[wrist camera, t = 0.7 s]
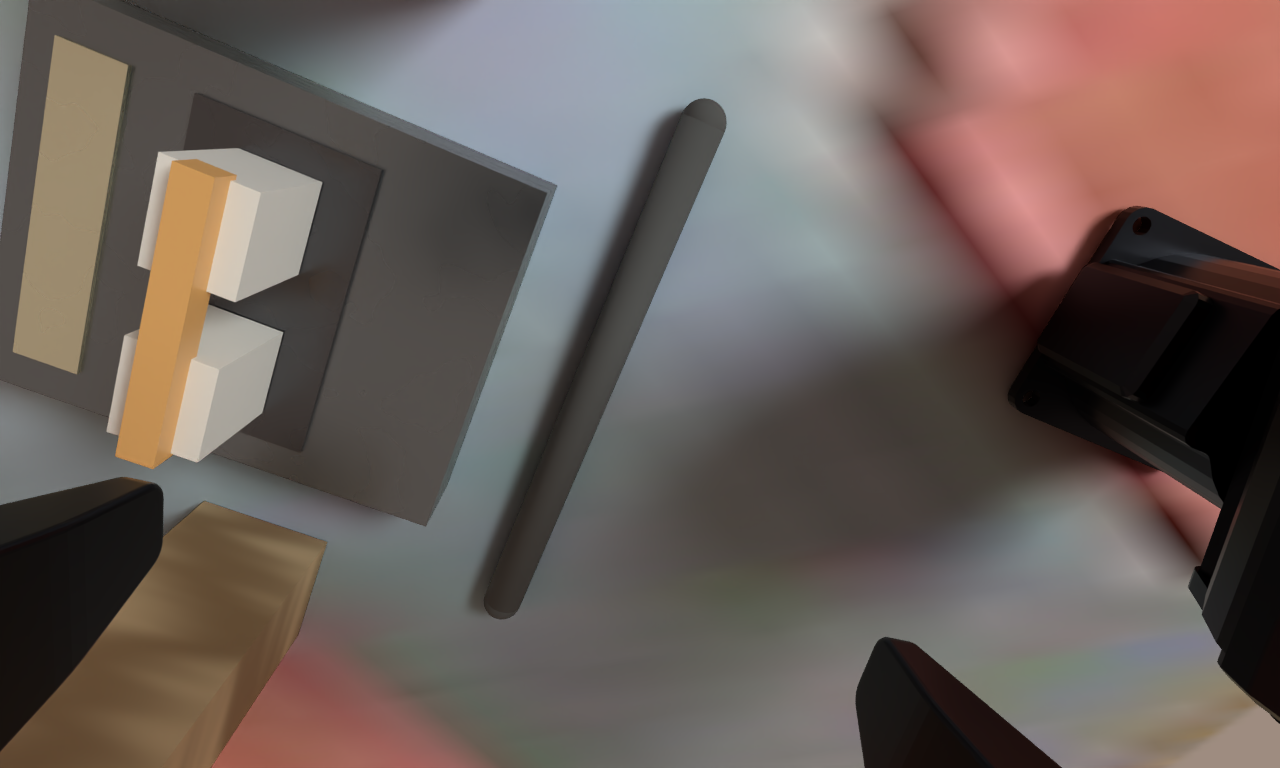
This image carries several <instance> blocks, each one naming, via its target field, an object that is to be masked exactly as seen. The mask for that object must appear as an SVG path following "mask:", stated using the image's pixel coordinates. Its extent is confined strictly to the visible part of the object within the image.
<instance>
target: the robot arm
mask: <svg viewBox="0 0 1280 768" xmlns="http://www.w3.org/2000/svg"><path fill="white" fill-rule="evenodd" d="M1138 218H1141V222H1142V224H1141V226H1140V228H1139V229H1138V230H1137V231H1136V232H1133V228H1132V227H1133V224H1134V222H1135V221H1136V220H1137V219H1138ZM1037 343H1038V345H1037V346H1036V348H1035V350H1034V351H1033V353H1032V354H1031V356H1030V358H1029V359H1028V361H1027V362H1026V364H1025V366H1024V367H1023V369H1022V370H1021V372H1020V373H1019V375H1018V377H1017V378H1016V380H1015V381H1014V383H1013V385H1012V386H1011V388H1010V390H1009V393H1008V400H1009V402H1010V404H1011V405H1012V406H1013V407H1015V408H1016V409H1017V410H1019V411H1020V412H1022V413H1023V414H1026V415H1028V416H1031V417H1033V418H1035V419H1038V420H1040V421H1043V422H1045V423H1047V424H1050V425H1052V426H1055V427H1057V428H1059V429H1062V430H1064V431H1066V432H1069V433H1071V434H1074V435H1076V436H1078V437H1081V438H1083V439H1086V440H1088V441H1090V442H1093V443H1095V444H1098V445H1100V446H1102V447H1105V448H1107V449H1110V450H1112V451H1114V452H1117V453H1119V454H1121V455H1124V456H1126V457H1129V458H1131V459H1133V460H1136V461H1138V462H1141V463H1143V464H1145V465H1148V466H1150V467H1153V468H1155V469H1157V470H1160V471H1162V472H1164V473H1166V474H1167V475H1169V476H1171V477H1172V478H1174V479H1175V480H1177V481H1178V482H1180V483H1181V484H1183V485H1185V486H1186V487H1188V488H1189V489H1191V490H1192V491H1194V492H1195V493H1197V494H1199V495H1200V496H1202V497H1203V498H1205V499H1206V500H1208V501H1209V502H1211V503H1213V504H1214V505H1216V506H1217V507H1219V508H1220V509H1221V511H1220V514H1219V517H1218V520H1217V522H1216V525H1215V528H1214V531H1213V534H1212V536H1211V539H1210V542H1209V545H1208V548H1207V550H1206V553H1205V556H1204V559H1203V562H1202V564H1201V566H1196V567H1195V568H1194V571H1193V574H1192V577H1191V579H1190V582H1189V585H1188V588H1189V590H1190V591H1191V593H1192V594H1193V596H1194V598H1195V599H1196V601H1197V602H1198V604H1199V606H1200V607H1201V609H1202V610H1203V611H1202V616H1203V618H1204V620H1205V622H1206V624H1207V626H1208V628H1209V629H1210V631H1211V633H1212V635H1213V637H1214V639H1215V641H1216V643H1217V644H1218V645H1219V646H1220V648H1221V649H1222V650H1221V653H1220V655H1219V658H1218V661H1217V662H1218V664H1219V666H1220V667H1221V669H1222V670H1223V671H1224V672H1225V673H1226V675H1227V676H1228V677H1229V678H1230V679H1231V680H1232V681H1233V682H1234V683H1235V684H1236V685H1237V686H1238V687H1239V688H1240V689H1241V690H1242V691H1243V692H1244V693H1246V694H1247V695H1248V696H1249V697H1250V698H1251V699H1252V700H1253V701H1254V702H1255V703H1256V704H1257V705H1259V706H1260V707H1261V708H1263V709H1264V710H1265V711H1267V712H1268V713H1269V714H1270V715H1271V716H1272V717H1273V718H1274V719H1275V720H1276V721H1277V722H1278V723H1279V724H1280V270H1279V269H1277V268H1275V267H1273V266H1271V265H1269V264H1267V263H1265V262H1263V261H1261V260H1259V259H1256V258H1254V257H1252V256H1250V255H1248V254H1246V253H1244V252H1242V251H1240V250H1238V249H1236V248H1234V247H1231V246H1229V245H1227V244H1225V243H1223V242H1221V241H1219V240H1217V239H1215V238H1213V237H1211V236H1209V235H1206V234H1204V233H1202V232H1200V231H1198V230H1196V229H1194V228H1192V227H1190V226H1188V225H1186V224H1184V223H1182V222H1179V221H1177V220H1175V219H1173V218H1171V217H1169V216H1167V215H1165V214H1163V213H1161V212H1159V211H1157V210H1154V209H1152V208H1147V207H1141V206H1133V207H1129V208H1127V209H1126V210H1124V211H1123V212H1122V213H1121V214H1120V215H1119V216H1118V217H1117V219H1116V220H1115V222H1114V224H1113V225H1112V227H1111V228H1110V230H1109V232H1108V233H1107V235H1106V236H1105V238H1104V240H1103V241H1102V243H1101V244H1100V246H1099V248H1098V249H1097V251H1096V252H1095V254H1094V256H1093V257H1092V259H1091V260H1090V262H1089V263H1088V265H1087V266H1085V267H1083V269H1082V270H1081V272H1080V273H1079V275H1078V277H1077V278H1076V280H1075V281H1074V283H1073V285H1072V286H1071V288H1070V289H1069V291H1068V293H1067V294H1066V296H1065V297H1064V299H1063V301H1062V302H1061V304H1060V305H1059V307H1058V309H1057V310H1056V312H1055V313H1054V315H1053V317H1052V318H1051V320H1050V321H1049V323H1048V324H1047V326H1046V328H1045V329H1044V331H1043V332H1042V334H1041V336H1040V337H1039V339H1038V341H1037ZM1029 391H1033V394H1032V397H1031V398H1030V399H1029V400H1028V401H1025V402H1023V397H1024V395H1025V394H1026V393H1027V392H1029ZM163 501H164V498H163V492H162V489H161V488H160V487H159V486H158V485H157V484H155V483H152V482H147V481H142V480H137V479H133V478H128V477H120V478H115V479H110V480H106V481H102V482H98V483H93V484H89V485H85V486H80V487H76V488H72V489H67V490H63V491H59V492H55V493H50V494H46V495H42V496H37V497H33V498H29V499H24V500H20V501H16V502H12V503H7V504H3V505H0V752H1V751H2V750H3V748H4V747H5V746H6V745H7V744H8V743H9V742H10V741H11V740H12V739H13V738H14V736H15V735H16V734H17V733H18V732H19V731H20V730H21V729H22V728H23V727H24V725H25V724H26V723H27V722H28V721H29V720H30V719H31V718H32V717H33V716H34V715H35V713H36V712H37V711H38V710H39V709H40V708H41V707H42V706H43V705H44V704H45V703H46V701H47V700H48V699H49V698H50V697H51V696H52V695H53V694H54V693H55V692H56V690H57V689H58V688H59V687H60V686H61V685H62V684H63V683H64V681H65V680H66V679H67V678H68V677H69V676H70V675H71V673H72V672H73V671H74V670H75V669H76V667H77V666H78V665H79V664H80V662H81V661H82V660H83V659H84V657H85V656H86V655H87V654H88V652H89V651H90V650H91V648H92V647H93V646H94V644H95V643H96V642H97V640H98V639H99V638H100V636H101V635H102V634H103V632H104V631H105V630H106V628H107V627H108V626H109V624H110V623H111V622H112V620H113V619H114V618H115V616H116V615H117V614H118V612H119V611H120V610H121V608H122V607H123V606H124V604H125V603H126V602H127V600H128V599H129V598H130V596H131V595H132V594H133V592H134V591H135V590H136V588H137V587H138V586H139V584H140V583H141V582H142V580H143V579H144V578H145V576H146V575H147V574H148V572H149V571H150V570H151V568H152V567H153V566H154V564H155V562H156V561H157V559H158V557H159V555H160V552H161V549H162V544H163ZM856 711H857V718H858V725H859V732H860V739H861V746H862V752H863V759H864V766H865V768H1062V767H1060V766H1059V765H1058V764H1057V763H1056V762H1054V761H1053V760H1052V759H1051V758H1050V757H1049V756H1047V755H1046V754H1045V753H1044V752H1043V751H1041V750H1040V749H1039V748H1038V747H1037V746H1036V745H1034V744H1033V743H1032V742H1031V741H1030V740H1028V739H1027V738H1026V737H1025V736H1024V735H1023V734H1021V733H1020V732H1019V731H1018V730H1017V729H1015V728H1014V727H1013V726H1012V725H1011V724H1009V723H1008V722H1007V721H1006V720H1005V719H1004V718H1002V717H1001V716H1000V715H999V714H998V713H996V712H995V711H994V710H993V709H992V708H991V707H989V706H988V705H987V704H986V703H985V702H983V701H982V700H981V699H980V698H979V697H978V696H976V695H975V694H974V693H973V692H972V691H970V690H969V689H968V688H967V687H966V686H964V685H963V684H962V683H961V682H960V681H959V680H957V679H956V678H955V677H954V676H953V675H951V674H950V673H949V672H948V671H947V670H946V669H944V668H943V667H942V666H941V665H940V664H938V663H937V662H936V661H935V660H934V659H933V658H931V657H930V656H929V655H928V654H927V653H925V652H924V651H923V650H922V649H921V648H919V647H918V646H917V645H916V644H914V643H912V642H909V641H904V640H899V639H894V638H889V637H884V638H881V639H879V641H878V642H877V643H876V645H875V646H874V649H873V651H872V653H871V656H870V658H869V660H868V663H867V665H866V667H865V670H864V672H863V674H862V677H861V679H860V681H859V684H858V687H857V691H856Z"/></svg>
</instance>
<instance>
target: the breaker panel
mask: <svg viewBox="0 0 1280 768" xmlns="http://www.w3.org/2000/svg"><path fill="white" fill-rule="evenodd" d="M230 148H239V149H242V150H244V151H247V152H249V153H252V154H254V155H257V156H259V157H262V158H264V159H266V160H269V161H271V162H274V163H276V164H279V165H281V166H284V167H286V168H289V169H291V170H294V171H296V172H298V173H301V174H303V175H306V176H308V177H311V178H313V179H316V180H318V181H321V182H322V186H321V190H320V194H319V198H318V201H317V205H316V209H315V213H314V217H313V221H312V224H311V228H310V232H309V236H308V240H307V244H306V247H305V251H304V255H303V259H302V263H301V267H300V270H299V274H298V275H297V276H294V277H292V278H290V279H287V280H285V281H283V282H281V283H278V284H276V285H274V286H271V287H269V288H267V289H265V290H262V291H260V292H258V293H255V294H253V295H251V296H249V297H246V298H244V299H242V300H239V301H237V302H233V301H230V300H228V299H225V298H222V297H220V296H217V295H214V294H212V293H211V294H210V299H209V303H208V304H209V305H211V306H214V307H217V308H220V309H222V310H225V311H228V312H230V313H233V314H236V315H238V316H241V317H244V318H246V319H249V320H252V321H254V322H257V323H260V324H262V325H265V326H268V327H270V328H273V329H276V330H279V331H281V332H283V335H282V339H281V343H280V347H279V351H278V354H277V358H276V362H275V366H274V370H273V374H272V377H271V381H270V385H269V389H268V393H267V397H266V400H265V404H264V408H263V412H262V414H260V415H259V416H258V417H256V418H255V419H254V420H252V421H251V422H250V423H249V424H247V425H246V426H245V427H243V428H242V429H241V430H239V431H238V432H237V433H236V434H234V435H233V436H232V437H230V438H229V439H228V440H226V441H225V442H224V443H222V444H221V445H220V446H219V447H217V448H216V449H215V450H213V451H212V452H211V453H214V454H217V455H220V456H223V457H226V458H228V459H231V460H234V461H237V462H240V463H243V464H246V465H249V466H252V467H255V468H257V469H260V470H263V471H266V472H269V473H272V474H275V475H278V476H281V477H284V478H287V479H289V480H292V481H295V482H298V483H301V484H304V485H307V486H310V487H313V488H316V489H318V490H321V491H324V492H327V493H330V494H333V495H336V496H339V497H342V498H345V499H348V500H350V501H353V502H356V503H359V504H362V505H365V506H368V507H371V508H374V509H377V510H379V511H382V512H385V513H388V514H391V515H394V516H397V517H400V518H403V519H406V520H409V521H411V522H414V523H417V524H420V525H423V526H426V525H427V523H428V522H429V520H430V518H431V516H432V514H433V512H434V510H435V508H436V506H437V504H438V502H439V500H440V498H441V496H442V494H443V493H444V491H445V489H446V487H447V485H448V482H449V479H450V476H451V474H452V471H453V468H454V465H455V463H456V460H457V457H458V455H459V452H460V449H461V446H462V444H463V441H464V438H465V435H466V433H467V430H468V427H469V425H470V422H471V419H472V416H473V414H474V411H475V408H476V406H477V403H478V400H479V397H480V395H481V392H482V389H483V386H484V384H485V381H486V378H487V376H488V373H489V370H490V367H491V365H492V362H493V359H494V357H495V354H496V351H497V348H498V346H499V343H500V340H501V337H502V335H503V332H504V329H505V327H506V324H507V321H508V318H509V316H510V313H511V310H512V307H513V305H514V302H515V299H516V297H517V294H518V291H519V288H520V286H521V283H522V280H523V278H524V275H525V272H526V269H527V267H528V264H529V261H530V258H531V256H532V253H533V250H534V248H535V245H536V242H537V239H538V237H539V234H540V231H541V228H542V226H543V223H544V220H545V218H546V215H547V212H548V209H549V207H550V204H551V201H552V199H553V196H554V193H555V190H556V188H557V185H555V184H553V183H550V182H548V181H546V180H543V179H541V178H538V177H536V176H534V175H531V174H529V173H527V172H524V171H522V170H520V169H517V168H515V167H513V166H510V165H508V164H506V163H503V162H501V161H499V160H496V159H494V158H491V157H489V156H487V155H484V154H482V153H480V152H477V151H475V150H473V149H470V148H468V147H466V146H463V145H461V144H459V143H456V142H454V141H451V140H449V139H447V138H444V137H442V136H440V135H437V134H435V133H433V132H430V131H428V130H426V129H423V128H421V127H419V126H416V125H414V124H411V123H409V122H407V121H404V120H402V119H400V118H397V117H395V116H393V115H390V114H388V113H386V112H383V111H381V110H379V109H376V108H374V107H372V106H369V105H367V104H364V103H362V102H360V101H357V100H355V99H353V98H350V97H348V96H346V95H343V94H341V93H339V92H336V91H334V90H332V89H329V88H327V87H324V86H322V85H320V84H317V83H315V82H313V81H310V80H308V79H306V78H303V77H301V76H299V75H296V74H294V73H292V72H289V71H287V70H284V69H282V68H280V67H277V66H275V65H273V64H270V63H268V62H266V61H263V60H261V59H259V58H256V57H254V56H252V55H249V54H247V53H245V52H242V51H240V50H237V49H235V48H233V47H230V46H228V45H226V44H223V43H221V42H219V41H216V40H214V39H212V38H209V37H207V36H205V35H202V34H200V33H197V32H195V31H193V30H190V29H188V28H186V27H183V26H181V25H179V24H176V23H174V22H172V21H169V20H167V19H165V18H162V17H160V16H157V15H155V14H153V13H150V12H148V11H146V10H143V9H141V8H139V7H136V6H134V5H132V4H129V3H127V2H125V1H122V0H29V7H28V15H27V23H26V32H25V40H24V48H23V56H22V65H21V73H20V81H19V90H18V98H17V106H16V115H15V123H14V131H13V139H12V148H11V156H10V164H9V173H8V181H7V189H6V198H5V206H4V214H3V223H2V231H1V239H0V380H2V381H5V382H8V383H11V384H14V385H16V386H19V387H22V388H25V389H28V390H31V391H34V392H37V393H40V394H43V395H45V396H48V397H51V398H54V399H57V400H60V401H63V402H66V403H69V404H72V405H75V406H77V407H80V408H83V409H86V410H89V411H92V412H95V413H98V414H101V415H104V416H106V417H109V415H110V410H111V405H112V399H113V394H114V388H115V383H116V378H117V372H118V367H119V362H120V356H121V351H122V345H123V340H124V335H126V334H129V333H131V332H134V331H136V330H139V329H140V324H141V319H142V314H143V309H144V303H145V298H146V293H147V288H148V283H149V277H150V272H151V271H150V270H148V269H145V268H142V267H140V266H137V265H138V259H139V254H140V248H141V243H142V238H143V232H144V227H145V221H146V216H147V211H148V205H149V200H150V194H151V189H152V184H153V178H154V173H155V167H156V162H157V157H158V152H166V151H188V150H209V149H230Z"/></svg>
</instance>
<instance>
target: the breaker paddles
mask: <svg viewBox="0 0 1280 768" xmlns="http://www.w3.org/2000/svg"><path fill="white" fill-rule="evenodd" d="M321 186H322V182H321V181H318V180H316V179H313V178H311V177H308V176H306V175H303V174H301V173H298V172H296V171H294V170H291V169H289V168H286V167H284V166H281V165H279V164H276V163H274V162H271V161H269V160H266V159H264V158H262V157H259V156H257V155H254V154H252V153H249V152H247V151H244V150H242V149H239V148H230V149H209V150H188V151H166V152H158V157H157V162H156V167H155V173H154V178H153V184H152V189H151V194H150V200H149V205H148V211H147V216H146V221H145V227H144V232H143V238H142V243H141V248H140V254H139V259H138V265H137V266H140V267H142V268H145V269H148V270H150V271H151V272H150V277H149V283H148V288H147V293H146V298H145V303H144V309H143V314H142V319H141V324H140V329H139V330H136V331H134V332H131V333H129V334H126V335H124V340H123V345H122V351H121V356H120V362H119V367H118V372H117V378H116V383H115V388H114V394H113V399H112V405H111V410H110V415H109V421H108V426H107V432H109V433H112V434H115V435H118V436H119V439H118V444H117V449H116V454H115V457H118V458H121V459H124V460H127V461H130V462H133V463H136V464H139V465H142V466H145V467H148V468H151V469H154V468H155V467H157V466H158V465H159V464H161V463H162V462H164V461H165V460H167V459H168V458H169V457H171V456H172V455H176V456H179V457H182V458H185V459H188V460H191V461H194V462H197V463H198V462H199V461H200V460H202V459H203V458H204V457H206V456H207V455H208V454H209V453H211V452H212V451H213V450H215V449H216V448H217V447H219V446H220V445H221V444H222V443H224V442H225V441H226V440H228V439H229V438H230V437H232V436H233V435H234V434H236V433H237V432H238V431H239V430H241V429H242V428H243V427H245V426H246V425H247V424H249V423H250V422H251V421H252V420H254V419H255V418H256V417H258V416H259V415H260V414H262V412H263V408H264V404H265V400H266V397H267V393H268V389H269V385H270V381H271V377H272V374H273V370H274V366H275V362H276V358H277V354H278V351H279V347H280V343H281V339H282V335H283V332H281V331H279V330H276V329H273V328H270V327H268V326H265V325H262V324H260V323H257V322H254V321H252V320H249V319H246V318H244V317H241V316H238V315H236V314H233V313H230V312H228V311H225V310H222V309H220V308H217V307H214V306H211V305H209V304H208V303H209V299H210V294H211V293H212V294H214V295H217V296H220V297H222V298H225V299H228V300H230V301H233V302H237V301H239V300H242V299H244V298H246V297H249V296H251V295H253V294H255V293H258V292H260V291H262V290H265V289H267V288H269V287H271V286H274V285H276V284H278V283H281V282H283V281H285V280H287V279H290V278H292V277H294V276H297V275H298V274H299V270H300V267H301V263H302V259H303V255H304V251H305V247H306V244H307V240H308V236H309V232H310V228H311V224H312V221H313V217H314V213H315V209H316V205H317V201H318V198H319V194H320V190H321Z"/></svg>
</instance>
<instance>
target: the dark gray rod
mask: <svg viewBox="0 0 1280 768" xmlns="http://www.w3.org/2000/svg"><path fill="white" fill-rule="evenodd" d="M725 129H726V116H725V113H724V110H723V109H722V107H721V106H720V105H719V104H718V103H717V102H715V101H713V100H710V99H705V98H704V99H698V100H695V101H693V102H691V103H690V104H689V105H688V106H687V107H686V108H685V110H684V111H683V113H682V116H681V118H680V121H679V123H678V125H677V128H676V130H675V133H674V135H673V138H672V140H671V142H670V145H669V147H668V150H667V152H666V155H665V157H664V160H663V162H662V164H661V167H660V169H659V172H658V174H657V177H656V179H655V182H654V184H653V186H652V189H651V191H650V194H649V196H648V199H647V201H646V203H645V206H644V208H643V211H642V213H641V216H640V218H639V221H638V223H637V225H636V228H635V230H634V233H633V235H632V238H631V240H630V242H629V245H628V247H627V250H626V252H625V255H624V257H623V260H622V262H621V264H620V267H619V269H618V272H617V274H616V277H615V279H614V282H613V284H612V286H611V289H610V291H609V294H608V296H607V299H606V301H605V303H604V306H603V308H602V311H601V313H600V316H599V318H598V321H597V323H596V325H595V328H594V330H593V333H592V335H591V338H590V340H589V342H588V345H587V347H586V350H585V352H584V355H583V357H582V360H581V362H580V364H579V367H578V369H577V372H576V374H575V377H574V379H573V382H572V384H571V386H570V389H569V391H568V394H567V396H566V399H565V401H564V403H563V406H562V408H561V411H560V413H559V416H558V418H557V421H556V423H555V425H554V428H553V430H552V433H551V435H550V438H549V440H548V443H547V445H546V447H545V450H544V452H543V455H542V457H541V460H540V462H539V464H538V467H537V469H536V472H535V474H534V477H533V479H532V482H531V484H530V486H529V489H528V491H527V494H526V496H525V499H524V501H523V503H522V506H521V508H520V511H519V513H518V516H517V518H516V521H515V523H514V525H513V528H512V530H511V533H510V535H509V538H508V540H507V543H506V545H505V547H504V550H503V552H502V555H501V557H500V560H499V562H498V564H497V567H496V569H495V572H494V574H493V577H492V579H491V582H490V584H489V586H488V589H487V591H486V594H485V597H484V606H485V609H486V611H487V612H488V614H489V615H491V616H492V617H494V618H496V619H507V618H510V617H511V616H513V615H514V614H515V613H516V612H517V611H518V609H519V607H520V605H521V602H522V600H523V598H524V595H525V593H526V591H527V588H528V586H529V584H530V582H531V579H532V577H533V575H534V572H535V570H536V568H537V565H538V563H539V561H540V558H541V556H542V554H543V551H544V549H545V547H546V544H547V542H548V540H549V537H550V535H551V533H552V531H553V528H554V526H555V524H556V521H557V519H558V517H559V514H560V512H561V510H562V507H563V505H564V503H565V500H566V498H567V496H568V493H569V491H570V489H571V487H572V484H573V482H574V480H575V477H576V475H577V473H578V470H579V468H580V466H581V463H582V461H583V459H584V456H585V454H586V452H587V449H588V447H589V445H590V443H591V440H592V438H593V436H594V433H595V431H596V429H597V426H598V424H599V422H600V419H601V417H602V415H603V412H604V410H605V408H606V405H607V403H608V401H609V399H610V396H611V394H612V392H613V389H614V387H615V385H616V382H617V380H618V378H619V375H620V373H621V371H622V368H623V366H624V364H625V361H626V359H627V357H628V355H629V352H630V350H631V348H632V345H633V343H634V341H635V338H636V336H637V334H638V331H639V329H640V327H641V324H642V322H643V320H644V317H645V315H646V313H647V311H648V308H649V306H650V304H651V301H652V299H653V297H654V294H655V292H656V290H657V287H658V285H659V283H660V280H661V278H662V276H663V273H664V271H665V269H666V267H667V264H668V262H669V260H670V257H671V255H672V253H673V250H674V248H675V246H676V243H677V241H678V239H679V236H680V234H681V232H682V229H683V227H684V225H685V223H686V220H687V218H688V216H689V213H690V211H691V209H692V206H693V204H694V202H695V199H696V197H697V195H698V192H699V190H700V188H701V185H702V183H703V181H704V179H705V176H706V174H707V172H708V169H709V167H710V165H711V162H712V160H713V158H714V155H715V153H716V151H717V148H718V146H719V144H720V141H721V139H722V137H723V135H724V132H725Z"/></svg>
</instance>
